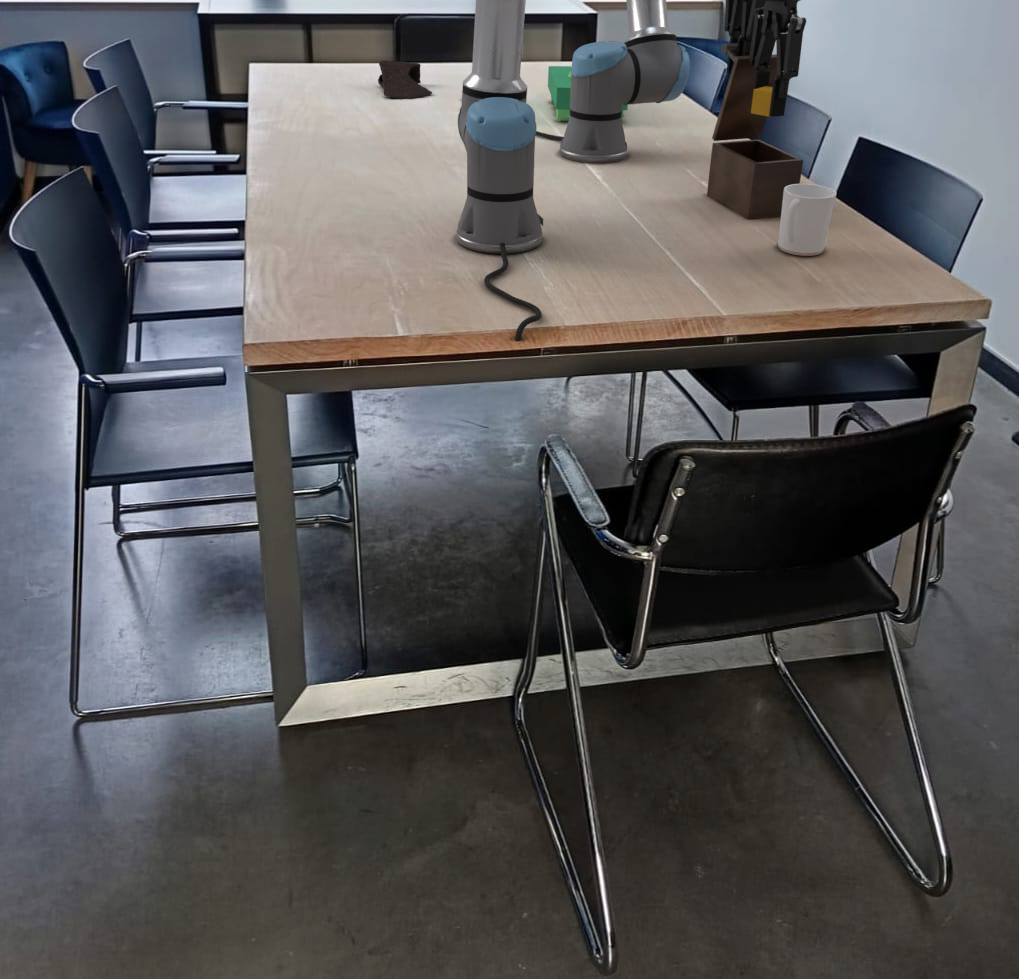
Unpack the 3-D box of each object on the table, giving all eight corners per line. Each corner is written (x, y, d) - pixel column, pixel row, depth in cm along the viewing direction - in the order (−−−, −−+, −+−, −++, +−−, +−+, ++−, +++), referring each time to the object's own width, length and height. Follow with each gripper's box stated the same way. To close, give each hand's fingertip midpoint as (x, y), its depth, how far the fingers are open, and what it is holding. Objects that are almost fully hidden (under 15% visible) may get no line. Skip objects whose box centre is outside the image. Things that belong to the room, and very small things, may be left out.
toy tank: (612, 47, 295) (630, 72, 266) (608, 94, 302) (626, 124, 272) (547, 45, 295) (557, 71, 265) (545, 93, 301) (555, 123, 271)
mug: (789, 236, 200) (798, 180, 195) (834, 247, 195) (845, 190, 190) (760, 251, 193) (769, 193, 188) (807, 263, 188) (817, 204, 183)
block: (782, 113, 203) (786, 89, 201) (770, 117, 201) (774, 92, 198) (762, 109, 206) (765, 85, 203) (750, 113, 203) (753, 89, 201)
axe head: (443, 87, 294) (392, 77, 287) (436, 115, 299) (385, 106, 292) (421, 62, 307) (371, 52, 300) (414, 89, 311) (365, 80, 304)
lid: (786, 56, 207) (764, 33, 212) (738, 59, 203) (717, 35, 209) (760, 137, 219) (740, 113, 225) (714, 141, 216) (694, 116, 222)
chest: (794, 214, 212) (803, 159, 207) (747, 219, 209) (755, 163, 204) (751, 191, 225) (758, 139, 220) (706, 195, 222) (712, 142, 217)
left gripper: (833, -20, 184) (812, 122, 197) (775, -32, 199) (758, 99, 212) (795, -18, 182) (776, 124, 194) (739, -31, 197) (724, 102, 209)
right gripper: (793, -56, 197) (774, 80, 209) (749, -64, 209) (734, 65, 221) (757, -56, 195) (739, 82, 207) (715, -64, 207) (701, 67, 219)
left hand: (767, 111), depth 203 cm, fingers closed on block, 6 cm apart
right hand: (736, 73), depth 214 cm, fingers closed on lid, 2 cm apart
